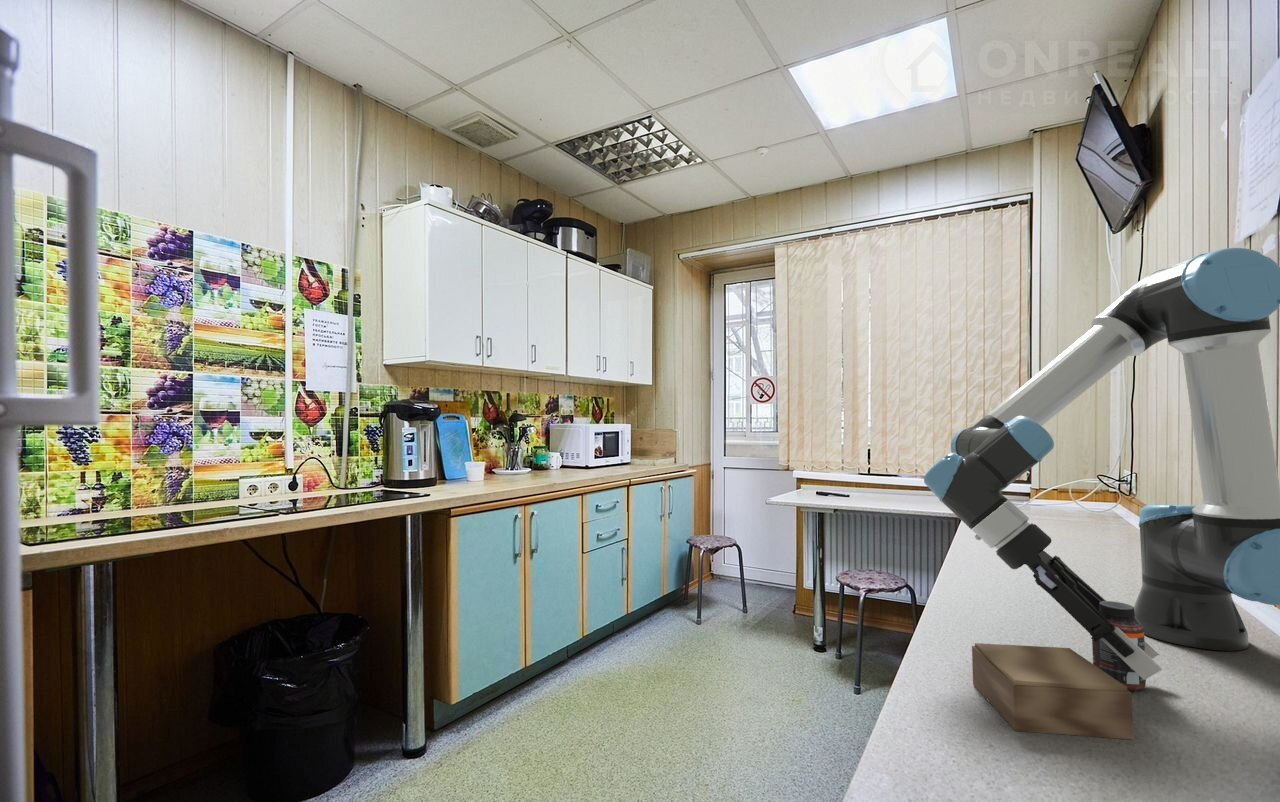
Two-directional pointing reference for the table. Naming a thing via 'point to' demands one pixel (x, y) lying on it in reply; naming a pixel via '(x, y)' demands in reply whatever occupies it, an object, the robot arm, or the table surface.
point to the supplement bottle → (1106, 657)
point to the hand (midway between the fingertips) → (1151, 665)
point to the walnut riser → (1052, 691)
